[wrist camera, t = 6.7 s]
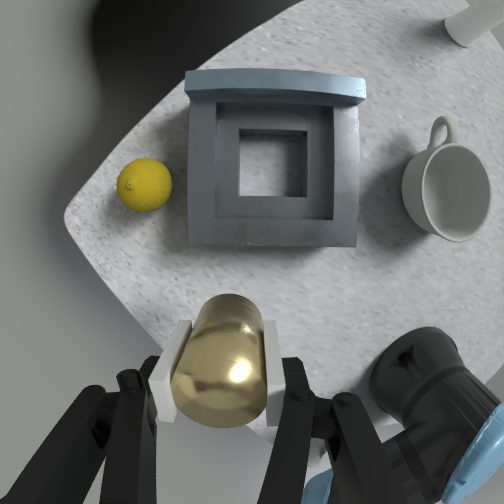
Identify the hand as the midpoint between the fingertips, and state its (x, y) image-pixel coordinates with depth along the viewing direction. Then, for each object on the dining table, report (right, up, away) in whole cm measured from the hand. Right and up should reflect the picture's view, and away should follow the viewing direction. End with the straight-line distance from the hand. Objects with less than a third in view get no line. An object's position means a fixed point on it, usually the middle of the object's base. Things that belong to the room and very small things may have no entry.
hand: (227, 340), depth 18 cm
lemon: (-9, +13, +14) cm, 21 cm away
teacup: (+24, +15, +13) cm, 31 cm away
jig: (+4, +15, +13) cm, 20 cm away
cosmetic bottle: (+35, +41, +8) cm, 55 cm away
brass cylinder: (0, +1, +2) cm, 2 cm away
